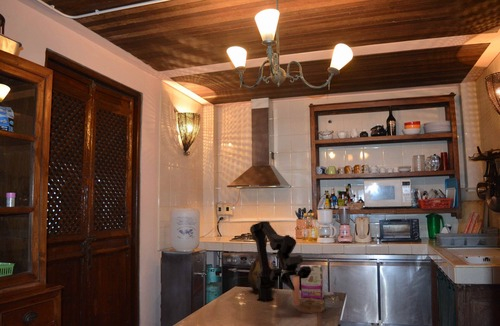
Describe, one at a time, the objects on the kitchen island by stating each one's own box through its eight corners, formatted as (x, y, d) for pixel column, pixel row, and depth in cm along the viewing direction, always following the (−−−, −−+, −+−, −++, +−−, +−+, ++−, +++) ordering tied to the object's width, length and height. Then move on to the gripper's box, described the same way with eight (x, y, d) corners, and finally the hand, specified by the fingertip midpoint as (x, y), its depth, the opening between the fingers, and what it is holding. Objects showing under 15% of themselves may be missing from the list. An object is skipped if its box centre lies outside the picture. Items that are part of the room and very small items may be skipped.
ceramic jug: (273, 296, 209) (272, 238, 212) (245, 294, 213) (244, 238, 216) (278, 289, 226) (277, 236, 229) (252, 288, 229) (251, 236, 232)
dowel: (291, 305, 171) (291, 276, 172) (294, 303, 174) (294, 275, 175) (297, 305, 169) (297, 277, 170) (300, 304, 172) (300, 276, 173)
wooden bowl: (293, 310, 180) (293, 302, 181) (303, 304, 191) (303, 297, 191) (318, 314, 174) (318, 305, 175) (327, 307, 185) (327, 300, 185)
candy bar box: (323, 297, 206) (322, 265, 208) (322, 299, 201) (321, 266, 203) (302, 295, 209) (301, 264, 211) (300, 297, 205) (300, 265, 206)
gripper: (272, 250, 174) (283, 280, 163) (309, 248, 181) (322, 276, 170) (265, 265, 181) (275, 295, 169) (301, 263, 187) (313, 291, 176)
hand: (297, 289), depth 171 cm, fingers closed on dowel, 3 cm apart
